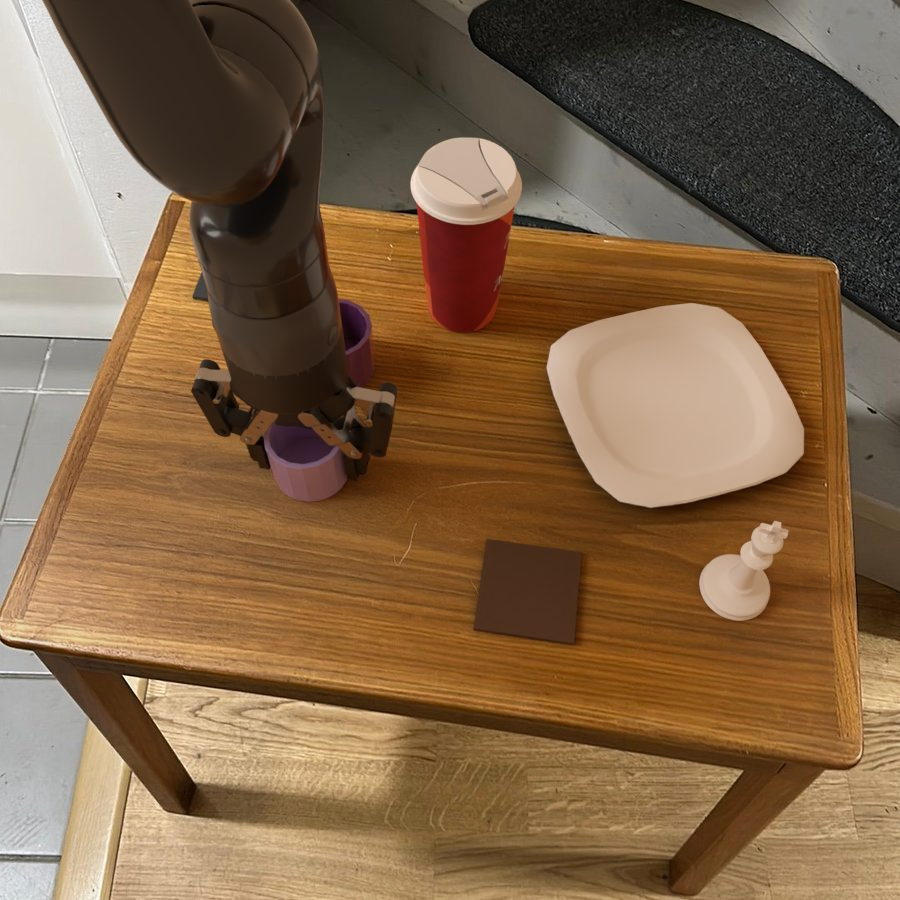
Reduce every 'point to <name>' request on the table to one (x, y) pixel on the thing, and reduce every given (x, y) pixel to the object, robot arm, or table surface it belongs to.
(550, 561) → the front mat
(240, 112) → the robot arm
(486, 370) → the table surface
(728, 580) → the chess piece
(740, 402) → the plate
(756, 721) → the table surface
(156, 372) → the table surface
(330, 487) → the lavender faceted cup
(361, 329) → the purple faceted tumbler
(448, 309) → the coffee cup
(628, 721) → the table surface
